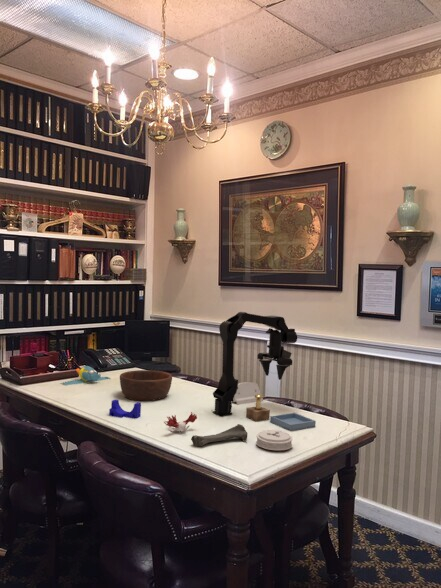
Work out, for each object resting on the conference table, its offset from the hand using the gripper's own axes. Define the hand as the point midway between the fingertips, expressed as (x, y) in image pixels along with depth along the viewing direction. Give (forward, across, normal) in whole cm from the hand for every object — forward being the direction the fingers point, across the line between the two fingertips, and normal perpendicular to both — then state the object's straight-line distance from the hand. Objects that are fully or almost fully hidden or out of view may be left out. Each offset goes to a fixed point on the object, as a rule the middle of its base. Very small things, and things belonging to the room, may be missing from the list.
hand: (273, 377), depth 226 cm
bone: (+15, -29, +46) cm, 57 cm away
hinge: (+14, +15, +4) cm, 21 cm away
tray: (+14, -24, +8) cm, 29 cm away
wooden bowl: (+15, +43, +43) cm, 63 cm away
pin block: (+14, -11, +16) cm, 24 cm away
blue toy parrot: (+16, +83, +59) cm, 103 cm away
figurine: (+15, -11, +54) cm, 57 cm away
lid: (+15, -40, +31) cm, 53 cm away
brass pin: (+14, -11, +16) cm, 24 cm away
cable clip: (+15, +15, +65) cm, 68 cm away
